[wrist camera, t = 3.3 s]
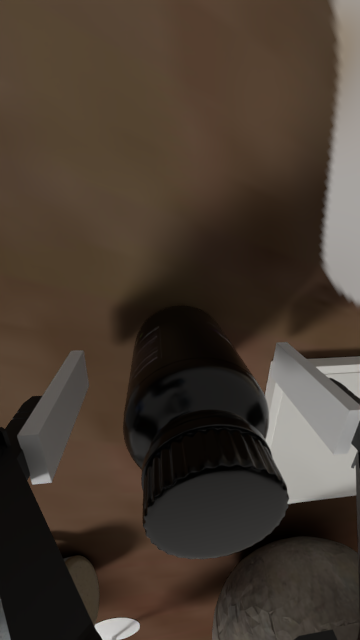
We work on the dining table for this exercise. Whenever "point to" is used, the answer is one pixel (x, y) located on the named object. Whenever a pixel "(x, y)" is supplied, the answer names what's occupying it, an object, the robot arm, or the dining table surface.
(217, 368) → the supplement bottle
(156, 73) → the dining table surface
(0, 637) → the ceramic mug
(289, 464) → the stone board
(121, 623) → the wineglass
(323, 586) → the clay pot
